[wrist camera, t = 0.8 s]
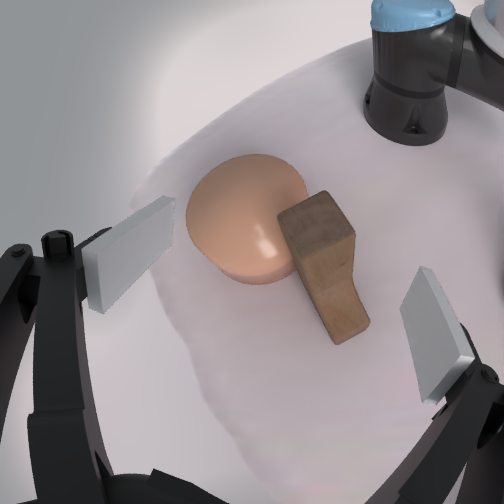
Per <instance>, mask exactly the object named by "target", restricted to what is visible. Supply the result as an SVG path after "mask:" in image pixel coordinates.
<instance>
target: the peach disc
mask: <svg viewBox="0 0 504 504" xmlns="http://www.w3.org/2000/svg"><path fill="white" fill-rule="evenodd" d="M306 199H308V195H307V190H306V187H305V184H304V181H303V179H302V178H301V176H300V175H299V173H298V172H297V171H296V170H295V169H294V168H293V167H292V166H291V165H290V164H288V163H287V162H285V161H283V160H281V159H279V158H276V157H273V156H269V155H261V154H253V155H245V156H240V157H237V158H233V159H231V160H228V161H226V162H224V163H222V164H220V165H219V166H217V167H216V168H214V169H213V170H211V171H210V172H209V173H208V174H207V175H206V176H205V177H204V178H203V179H202V180H201V181H200V182H199V184H198V185H197V186H196V188H195V190H194V191H193V193H192V195H191V197H190V200H189V203H188V206H187V211H186V226H187V230H188V233H189V236H190V238H191V240H192V242H193V243H194V245H195V246H196V247H197V248H198V249H199V250H200V251H201V252H202V253H203V254H204V255H205V256H206V257H207V258H208V259H209V260H210V261H211V262H213V263H214V264H215V265H216V266H217V267H218V268H219V269H220V270H221V271H222V272H223V273H224V274H226V275H227V276H228V277H230V278H231V279H233V280H236V281H238V282H241V283H244V284H251V285H262V284H268V283H272V282H275V281H278V280H280V279H282V278H284V277H286V276H288V275H289V274H291V273H292V272H293V271H295V270H296V269H297V267H296V265H295V262H294V260H293V257H292V255H291V252H290V250H289V247H288V245H287V243H286V240H285V238H284V235H283V233H282V231H281V228H280V226H279V223H278V221H277V215H278V214H279V213H281V212H282V211H284V210H286V209H288V208H290V207H292V206H294V205H296V204H298V203H300V202H302V201H304V200H306Z"/></svg>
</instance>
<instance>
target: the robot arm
mask: <svg viewBox="0 0 504 504" xmlns="http://www.w3.org/2000/svg"><path fill="white" fill-rule="evenodd" d="M371 13H372V20H371V23H370V24H371V28H372V38H373V57H374V76H373V78H372V81H371V83H370V86H369V88H368V90H367V93H366V95H365V99H364V114H365V117H366V119H367V121H368V123H369V124H370V126H371V127H372V128H373V129H374V130H375V131H376V132H378V133H379V134H380V135H382V136H384V137H385V138H387V139H389V140H391V141H394V142H397V143H400V144H404V145H410V146H423V145H428V144H432V143H434V142H436V141H437V140H439V139H440V138H441V137H442V136H443V134H444V132H445V129H446V126H447V122H448V113H447V106H446V100H445V94H444V87H445V85H447V86H450V87H452V88H455V89H457V90H459V91H462V92H464V93H466V94H469V95H471V96H473V97H475V98H478V99H480V100H482V101H484V102H486V103H488V104H490V105H492V106H494V107H496V108H498V109H500V110H502V111H504V0H485V3H484V5H479V6H477V7H475V8H474V9H473V11H472V13H471V16H470V18H469V17H466V16H463V15H460V14H457V13H455V8H454V5H453V4H452V3H451V2H450V1H449V0H373V2H372V5H371ZM175 204H176V199H174V198H170V197H166V196H162V197H160V198H159V199H157V200H155V201H154V202H152V203H151V204H149V205H147V206H146V207H144V208H142V209H141V210H139V211H138V212H136V213H135V214H133V215H131V216H130V217H128V218H127V219H125V220H124V221H122V222H121V223H119V224H117V225H116V226H115V227H113V228H112V227H109V228H105V229H102V230H100V231H98V232H97V233H95V234H94V235H93V236H91V237H89V238H88V239H87V240H85V241H83V242H82V243H80V244H79V245H78V246H76V247H74V242H73V235H72V233H71V232H69V231H66V230H55V231H51V232H48V233H46V234H45V235H44V236H43V237H42V238H41V241H42V249H43V254H44V257H37V256H33V252H32V248H31V246H30V245H28V244H17V245H16V244H15V245H13V246H12V247H10V248H8V249H7V250H6V251H5V253H4V254H3V255H2V257H1V258H0V442H1V437H2V431H3V426H4V422H5V417H6V413H7V408H8V404H9V400H10V397H11V393H12V389H13V385H14V382H15V378H16V375H17V371H18V369H19V365H20V362H21V359H22V356H23V353H24V350H25V347H26V344H27V341H28V338H29V336H30V333H31V331H32V328H33V325H34V323H35V333H34V352H33V398H34V399H33V400H34V412H33V413H32V414H29V416H28V418H27V429H28V441H29V450H30V458H31V465H32V472H33V478H34V484H35V489H36V494H37V499H35V500H32V501H27V502H23V503H18V504H229V503H226V502H225V501H223V500H221V499H219V498H217V497H215V496H213V495H212V494H210V493H208V492H206V491H205V490H203V489H201V488H199V487H198V486H196V485H194V484H193V483H191V482H188V481H185V480H182V479H179V478H177V477H174V476H171V475H169V474H166V473H164V472H161V471H159V470H156V469H153V471H152V473H151V475H145V474H120V475H114V473H113V470H112V467H111V465H110V463H109V460H108V457H107V454H106V451H105V447H104V443H103V440H102V435H101V432H100V427H99V422H98V418H97V413H96V408H95V403H94V398H93V392H92V386H91V380H90V374H89V367H88V359H87V351H86V343H85V333H84V321H83V310H82V309H83V308H82V301H83V300H84V299H85V298H86V297H87V298H88V305H89V308H90V309H92V310H94V311H97V312H99V313H101V314H104V313H105V312H106V311H107V310H108V309H109V308H110V307H111V306H112V305H113V304H114V303H115V302H116V301H117V300H118V299H119V297H121V296H122V294H124V292H125V291H126V290H127V289H128V288H129V287H130V286H131V285H132V284H133V283H134V282H135V281H136V280H137V279H138V278H139V277H140V276H141V275H142V274H143V273H144V272H145V271H146V270H147V269H148V268H149V267H150V266H151V265H152V264H153V263H154V262H155V261H156V260H157V259H158V258H159V257H160V256H161V255H163V254H164V253H165V252H166V251H167V250H168V249H169V248H170V247H171V246H172V238H173V226H174V214H175ZM400 312H401V315H402V319H403V323H404V326H405V330H406V334H407V338H408V341H409V345H410V349H411V353H412V358H413V362H414V366H415V371H416V375H417V380H418V385H419V390H420V395H421V400H422V403H425V404H434V405H437V404H438V402H439V401H440V400H441V399H442V398H443V397H444V396H445V397H446V401H447V403H446V404H445V405H444V406H443V407H442V408H441V409H440V410H439V411H438V412H437V413H436V414H435V416H434V417H433V418H432V420H433V422H432V423H431V425H430V426H429V427H428V429H427V430H426V432H425V433H424V434H423V436H422V437H421V439H420V440H419V441H418V443H417V444H416V445H415V447H414V448H413V449H412V450H411V452H410V453H409V454H408V456H407V457H406V458H405V459H404V460H403V462H402V463H401V464H400V465H399V467H398V468H397V469H396V470H395V471H394V472H393V474H392V475H391V476H390V477H389V478H388V479H387V480H386V481H385V483H384V484H383V485H382V486H381V487H380V488H379V489H378V490H377V491H376V492H375V493H374V494H373V495H372V496H371V497H370V498H369V500H368V501H367V502H366V503H365V504H442V503H443V502H444V501H445V499H446V497H447V496H448V494H449V492H450V491H451V489H452V487H453V486H454V484H455V482H456V481H457V479H458V477H459V475H460V473H461V472H462V470H463V468H464V466H465V464H466V462H467V465H466V468H465V473H464V476H463V480H462V483H461V487H460V490H459V493H458V496H457V500H456V503H455V504H504V385H502V384H500V383H499V378H498V375H497V374H496V372H495V371H494V370H493V369H492V368H491V367H489V366H488V365H485V364H482V362H481V360H480V358H479V355H478V353H477V351H476V348H475V346H474V344H473V342H472V340H471V337H470V335H469V333H468V331H467V330H466V329H465V327H464V326H463V325H462V324H461V323H459V321H458V319H457V317H456V315H455V312H454V310H453V308H452V306H451V304H450V302H449V300H448V299H447V297H446V295H445V293H444V291H443V289H442V287H441V285H440V283H439V282H438V280H437V278H436V276H435V274H434V272H433V271H432V270H431V269H428V268H425V267H422V266H420V268H419V270H418V272H417V274H416V276H415V278H414V280H413V282H412V285H411V287H410V289H409V291H408V293H407V295H406V297H405V299H404V301H403V302H402V304H401V306H400ZM35 320H36V321H35Z"/></svg>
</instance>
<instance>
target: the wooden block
mask: <svg viewBox="0 0 504 504" xmlns="http://www.w3.org/2000/svg"><path fill="white" fill-rule="evenodd" d="M277 221H278V223H279V226H280V228H281V231H282V233H283V235H284V238H285V240H286V243H287V245H288V247H289V250H290V252H291V255H292V257H293V260H294V262H295V265H296V267H297V269H298V272H299V274H300V277H301V279H302V282H303V284H304V287H305V288H306V290H307V292H308V294H309V296H310V298H311V300H312V302H313V304H314V306H315V308H316V310H317V311H318V313H319V315H320V317H321V319H322V321H323V323H324V325H325V327H326V329H327V331H328V333H329V335H330V337H331V339H332V341H333V343H334V344H335V345H339V344H341V343H343V342H345V341H346V340H348V339H350V338H352V337H354V336H356V335H357V334H359V333H361V332H363V331H365V330H366V329H367V327H368V326H369V324H370V319H369V317H368V315H367V313H366V311H365V309H364V307H363V305H362V303H361V301H360V299H359V297H358V294H357V292H356V289H355V286H354V284H353V278H352V272H353V261H354V250H355V236H356V234H355V230H354V229H353V227H352V226H351V224H350V223H349V221H348V220H347V218H346V217H345V215H344V214H343V212H342V211H341V209H340V208H339V207H338V205H337V204H336V202H335V201H334V199H333V198H332V197H331V195H330V194H329V193H328V192H327V191H326V190H325V191H321V192H319V193H317V194H315V195H313V196H312V197H310V198H308V199H306V200H304V201H302V202H300V203H298V204H296V205H294V206H292V207H290V208H288V209H286V210H284V211H282V212H281V213H279V214H278V215H277Z"/></svg>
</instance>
